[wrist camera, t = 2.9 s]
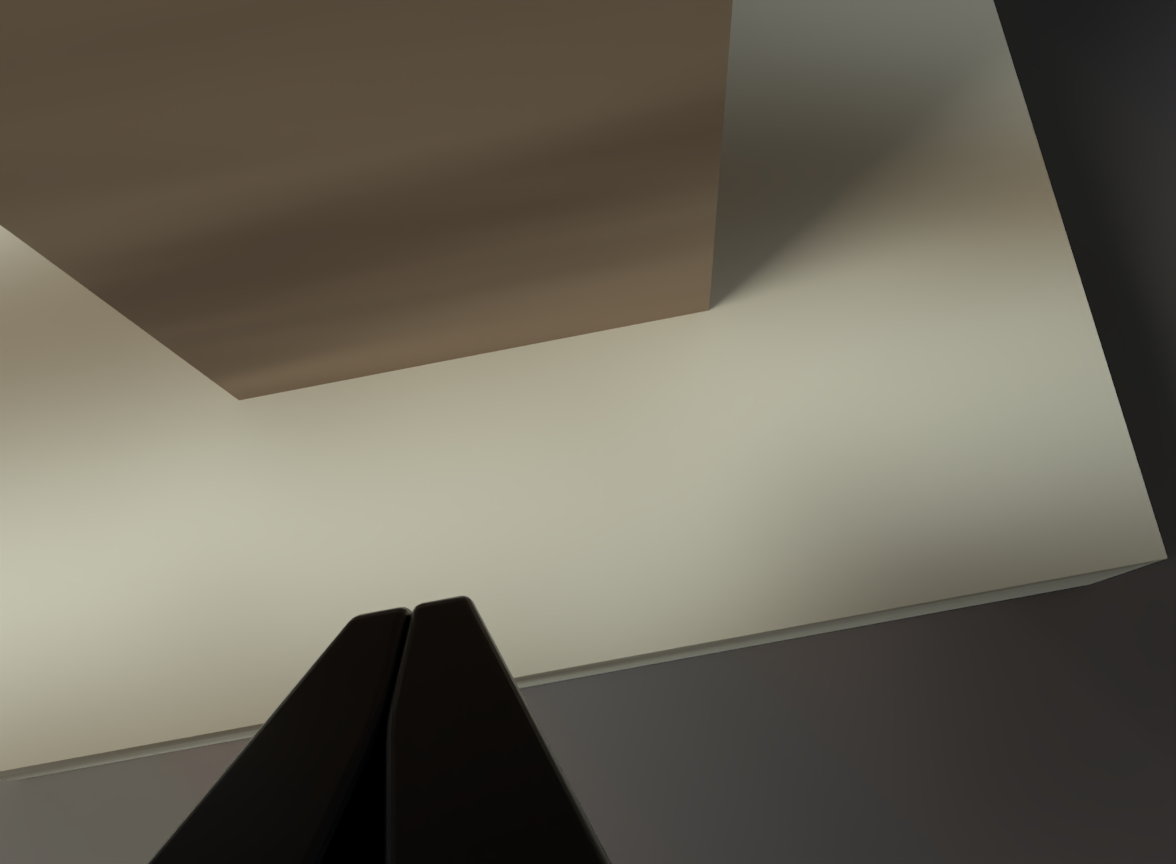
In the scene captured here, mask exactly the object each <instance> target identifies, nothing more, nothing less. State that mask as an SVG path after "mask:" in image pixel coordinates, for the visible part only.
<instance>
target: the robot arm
mask: <svg viewBox="0 0 1176 864" xmlns="http://www.w3.org/2000/svg"><path fill="white" fill-rule="evenodd" d="M148 864H611V862H610V860H609V858H608V856H607V854H606V852H605V851H604V849H603V847H602V845H601V843H600V841H599V839H598V837H597V835H596V834H595V832H594V830H593V828H592V826H591V824H590V822H589V820H588V818H587V816H586V815H585V813H584V811H583V809H582V807H581V805H580V803H579V801H578V799H577V798H576V796H575V794H574V792H573V790H572V788H571V786H570V784H569V782H568V780H567V779H566V777H565V775H564V773H563V771H562V769H561V767H560V765H559V763H558V761H557V760H556V758H555V756H554V754H553V752H552V750H551V748H550V746H549V744H548V743H547V741H546V739H545V737H544V735H543V733H542V731H541V729H540V727H539V725H538V724H537V722H536V720H535V718H534V716H533V714H532V712H531V710H530V708H529V707H528V705H527V703H526V701H525V699H524V697H523V695H522V693H521V691H520V689H519V688H518V686H517V684H516V682H515V680H514V678H513V676H512V674H511V672H510V670H509V669H508V667H507V665H506V663H505V661H504V659H503V657H502V655H501V653H500V652H499V650H498V648H497V646H496V644H495V642H494V640H493V638H492V636H491V634H490V633H489V631H488V629H487V627H486V625H485V623H484V621H483V619H482V617H481V616H480V614H479V612H478V610H477V608H476V606H475V604H474V602H473V601H472V599H470V598H469V597H467V596H457V597H451V598H446V599H441V600H435V601H430V602H425V603H421V604H419V605H417V606H416V607H415V608H414V609H413V611H411V610H410V609H408V608H406V607H397V608H392V609H387V610H381V611H376V612H370V613H365V614H360V615H357V616H355V617H354V618H352V619H351V620H350V621H349V622H348V623H347V624H346V625H345V626H344V628H343V629H342V630H341V631H340V632H339V634H338V635H337V636H336V637H335V639H334V640H333V641H332V642H331V643H330V645H329V646H328V647H327V648H326V649H325V651H324V652H323V653H322V654H321V655H320V657H319V658H318V659H317V660H316V661H315V663H314V664H313V665H312V666H311V667H310V669H309V670H308V671H307V672H306V673H305V675H304V676H303V677H302V678H301V679H300V681H299V682H298V683H297V684H296V685H295V687H294V688H293V689H292V690H291V691H290V693H289V694H288V695H287V696H286V698H285V699H284V700H283V701H282V702H281V704H280V705H279V706H278V707H277V708H276V710H275V711H274V712H273V713H272V714H271V716H270V717H269V718H268V719H267V720H266V722H265V723H264V724H263V725H262V726H261V728H260V729H259V730H258V731H257V732H256V734H255V735H254V736H253V737H252V738H251V740H250V741H249V742H248V743H247V744H246V746H245V747H244V748H243V749H242V750H241V752H240V753H239V754H238V755H237V756H236V758H235V759H234V760H233V761H232V763H231V764H230V765H229V766H228V767H227V769H226V770H225V771H224V772H223V773H222V775H221V776H220V777H219V778H218V779H217V781H216V782H215V783H214V784H213V785H212V787H211V788H210V789H209V790H208V791H207V793H206V794H205V795H204V796H203V797H202V799H201V800H200V801H199V802H198V803H197V805H196V806H195V807H194V808H193V809H192V811H191V812H190V813H189V814H188V815H187V817H186V818H185V819H184V820H183V822H182V823H181V824H180V825H179V826H178V828H177V829H176V830H175V831H174V832H173V834H172V835H171V836H170V837H169V838H168V840H167V841H166V842H165V843H164V844H163V846H162V847H161V848H160V849H159V850H158V852H157V853H156V854H155V855H154V856H153V858H152V859H151V860H150V861H149V862H148Z"/></svg>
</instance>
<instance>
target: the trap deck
mask: <svg viewBox="0 0 1176 864" xmlns="http://www.w3.org/2000/svg"><path fill="white" fill-rule="evenodd" d="M1164 559H1167V554H1166V551H1165V548H1164V545H1163V542H1162V538H1161V535H1160V532H1159V529H1158V526H1157V522H1156V519H1155V516H1154V513H1153V510H1152V506H1151V503H1150V500H1149V497H1148V494H1147V490H1146V487H1145V484H1144V481H1143V477H1142V474H1141V471H1140V468H1139V465H1138V461H1137V458H1136V455H1135V452H1134V449H1133V445H1132V442H1131V439H1130V436H1129V433H1128V429H1127V426H1126V423H1125V420H1124V417H1123V413H1122V410H1121V407H1120V404H1119V401H1118V397H1117V394H1116V391H1115V388H1114V385H1113V381H1112V378H1111V375H1110V372H1109V369H1108V365H1107V362H1106V359H1105V356H1104V353H1103V349H1102V346H1101V343H1100V340H1099V337H1098V333H1097V330H1096V327H1095V324H1094V321H1093V317H1092V314H1091V311H1090V308H1089V305H1088V301H1087V298H1086V295H1085V292H1084V289H1083V285H1082V282H1081V279H1080V276H1079V273H1078V269H1077V266H1076V263H1075V260H1074V257H1073V253H1072V250H1071V247H1070V244H1069V241H1068V237H1067V234H1066V231H1065V228H1064V225H1063V221H1062V218H1061V215H1060V212H1059V209H1058V205H1057V202H1056V199H1055V196H1054V193H1053V189H1052V186H1051V183H1050V180H1049V177H1048V173H1047V170H1046V167H1045V164H1044V161H1043V157H1042V154H1041V151H1040V148H1039V145H1038V141H1037V138H1036V135H1035V132H1034V129H1033V125H1032V122H1031V119H1030V116H1029V113H1028V109H1027V106H1026V103H1025V100H1024V97H1023V93H1022V90H1021V87H1020V84H1019V81H1018V77H1017V74H1016V71H1015V68H1014V65H1013V61H1012V58H1011V55H1010V52H1009V49H1008V45H1007V42H1006V39H1005V36H1004V33H1003V29H1002V26H1001V23H1000V20H999V17H998V13H997V10H996V7H995V4H994V1H993V0H733V5H732V18H731V31H730V44H729V56H728V69H727V82H726V95H725V108H724V121H723V134H722V147H721V160H720V173H719V186H718V199H717V212H716V225H715V238H714V251H713V264H712V277H711V290H710V303H709V311H703V312H698V313H693V314H688V315H682V316H677V317H672V318H667V319H662V320H656V321H651V322H646V323H641V324H635V325H630V326H625V327H620V328H615V329H609V330H604V331H599V332H594V333H589V334H583V335H578V336H573V337H568V338H562V339H557V340H552V341H547V342H542V343H536V344H531V345H526V346H521V347H515V348H510V349H505V350H500V351H495V352H489V353H484V354H479V355H474V356H468V357H463V358H458V359H453V360H448V361H442V362H437V363H432V364H427V365H421V366H416V367H411V368H406V369H401V370H395V371H390V372H385V373H380V374H374V375H369V376H364V377H359V378H354V379H348V380H343V381H338V382H333V383H327V384H322V385H317V386H312V387H307V388H301V389H296V390H291V391H286V392H280V393H275V394H270V395H265V396H260V397H254V398H249V399H244V400H238V399H236V398H235V397H234V396H232V395H231V394H229V393H228V392H227V391H225V390H224V389H223V388H221V387H220V386H219V385H217V384H216V383H214V382H213V381H212V380H210V379H209V378H208V377H206V376H205V375H204V374H202V373H201V372H200V371H198V370H197V369H195V368H194V367H193V366H191V365H190V364H189V363H187V362H186V361H185V360H183V359H182V358H181V357H179V356H178V355H176V354H175V353H174V352H172V351H171V350H170V349H168V348H167V347H166V346H164V345H163V344H161V343H160V342H159V341H157V340H156V339H155V338H153V337H152V336H151V335H149V334H148V333H147V332H145V331H144V330H142V329H141V328H140V327H138V326H137V325H136V324H134V323H133V322H132V321H130V320H129V319H127V318H126V317H125V316H123V315H122V314H121V313H119V312H118V311H117V310H115V309H114V308H113V307H111V306H110V305H108V304H107V303H106V302H104V301H103V300H102V299H100V298H99V297H98V296H96V295H95V294H93V293H92V292H91V291H89V290H88V289H87V288H85V287H84V286H83V285H81V284H80V283H79V282H77V281H76V280H74V279H73V278H72V277H70V276H69V275H68V274H66V273H65V272H64V271H62V270H61V269H60V268H58V267H57V266H55V265H54V264H53V263H51V262H50V261H49V260H47V259H46V258H45V257H43V256H42V255H40V254H39V253H38V252H36V251H35V250H34V249H32V248H31V247H30V246H28V245H27V244H26V243H24V242H23V241H21V240H20V239H19V238H17V237H16V236H15V235H13V234H12V233H11V232H9V231H8V230H6V229H5V228H4V227H2V226H1V225H0V781H10V780H19V779H25V778H30V777H36V776H41V775H47V774H52V773H58V772H63V771H69V770H74V769H80V768H85V767H91V766H96V765H102V764H107V763H113V762H118V761H124V760H129V759H135V758H140V757H146V756H151V755H156V754H162V753H167V752H173V751H178V750H184V749H189V748H195V747H200V746H206V745H211V744H217V743H222V742H228V741H233V740H239V739H244V738H250V737H253V736H254V735H255V734H256V732H257V731H258V730H259V729H260V728H261V726H262V725H263V724H264V723H265V722H266V720H267V719H268V718H269V717H270V716H271V714H272V713H273V712H274V711H275V710H276V708H277V707H278V706H279V705H280V704H281V702H282V701H283V700H284V699H285V698H286V696H287V695H288V694H289V693H290V691H291V690H292V689H293V688H294V687H295V685H296V684H297V683H298V682H299V681H300V679H301V678H302V677H303V676H304V675H305V673H306V672H307V671H308V670H309V669H310V667H311V666H312V665H313V664H314V663H315V661H316V660H317V659H318V658H319V657H320V655H321V654H322V653H323V652H324V651H325V649H326V648H327V647H328V646H329V645H330V643H331V642H332V641H333V640H334V639H335V637H336V636H337V635H338V634H339V632H340V631H341V630H342V629H343V628H344V626H345V625H346V624H347V623H348V622H349V621H350V620H351V619H352V618H354V617H355V616H357V615H360V614H365V613H370V612H376V611H381V610H387V609H392V608H397V607H406V608H408V609H410V610H411V611H413V609H414V608H415V607H416V606H417V605H419V604H421V603H425V602H430V601H435V600H441V599H446V598H451V597H457V596H467V597H469V598H470V599H472V601H473V602H474V604H475V606H476V608H477V610H478V612H479V614H480V616H481V617H482V619H483V621H484V623H485V625H486V627H487V629H488V631H489V633H490V634H491V636H492V638H493V640H494V642H495V644H496V646H497V648H498V650H499V652H500V653H501V655H502V657H503V659H504V661H505V663H506V665H507V667H508V669H509V670H510V672H511V674H512V676H513V678H514V680H515V682H516V684H517V686H518V688H524V687H530V686H535V685H541V684H546V683H552V682H557V681H563V680H568V679H574V678H579V677H585V676H590V675H596V674H601V673H607V672H612V671H618V670H623V669H629V668H634V667H639V666H645V665H650V664H656V663H661V662H667V661H672V660H678V659H683V658H689V657H694V656H700V655H705V654H711V653H716V652H722V651H727V650H733V649H738V648H744V647H749V646H755V645H760V644H766V643H771V642H777V641H782V640H788V639H793V638H799V637H804V636H810V635H815V634H821V633H826V632H832V631H837V630H843V629H848V628H854V627H859V626H865V625H870V624H875V623H881V622H886V621H892V620H897V619H903V618H908V617H914V616H919V615H925V614H930V613H936V612H941V611H947V610H952V609H958V608H963V607H969V606H974V605H980V604H985V603H991V602H996V601H1002V600H1007V599H1013V598H1018V597H1024V596H1029V595H1035V594H1040V593H1046V592H1051V591H1057V590H1062V589H1068V588H1073V587H1079V586H1084V585H1090V584H1093V583H1096V582H1099V581H1102V580H1105V579H1108V578H1110V577H1113V576H1116V575H1119V574H1122V573H1125V572H1128V571H1131V570H1134V569H1137V568H1140V567H1143V566H1146V565H1149V564H1152V563H1155V562H1158V561H1161V560H1164Z"/></svg>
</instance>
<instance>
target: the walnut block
mask: <svg viewBox="0 0 1176 864" xmlns="http://www.w3.org/2000/svg"><path fill="white" fill-rule="evenodd" d="M732 5H733V0H0V225H1V226H2V227H4V228H5V229H6V230H8V231H9V232H11V233H12V234H13V235H15V236H16V237H17V238H19V239H20V240H21V241H23V242H24V243H26V244H27V245H28V246H30V247H31V248H32V249H34V250H35V251H36V252H38V253H39V254H40V255H42V256H43V257H45V258H46V259H47V260H49V261H50V262H51V263H53V264H54V265H55V266H57V267H58V268H60V269H61V270H62V271H64V272H65V273H66V274H68V275H69V276H70V277H72V278H73V279H74V280H76V281H77V282H79V283H80V284H81V285H83V286H84V287H85V288H87V289H88V290H89V291H91V292H92V293H93V294H95V295H96V296H98V297H99V298H100V299H102V300H103V301H104V302H106V303H107V304H108V305H110V306H111V307H113V308H114V309H115V310H117V311H118V312H119V313H121V314H122V315H123V316H125V317H126V318H127V319H129V320H130V321H132V322H133V323H134V324H136V325H137V326H138V327H140V328H141V329H142V330H144V331H145V332H147V333H148V334H149V335H151V336H152V337H153V338H155V339H156V340H157V341H159V342H160V343H161V344H163V345H164V346H166V347H167V348H168V349H170V350H171V351H172V352H174V353H175V354H176V355H178V356H179V357H181V358H182V359H183V360H185V361H186V362H187V363H189V364H190V365H191V366H193V367H194V368H195V369H197V370H198V371H200V372H201V373H202V374H204V375H205V376H206V377H208V378H209V379H210V380H212V381H213V382H214V383H216V384H217V385H219V386H220V387H221V388H223V389H224V390H225V391H227V392H228V393H229V394H231V395H232V396H234V397H235V398H236V399H238V400H244V399H249V398H254V397H260V396H265V395H270V394H275V393H280V392H286V391H291V390H296V389H301V388H307V387H312V386H317V385H322V384H327V383H333V382H338V381H343V380H348V379H354V378H359V377H364V376H369V375H374V374H380V373H385V372H390V371H395V370H401V369H406V368H411V367H416V366H421V365H427V364H432V363H437V362H442V361H448V360H453V359H458V358H463V357H468V356H474V355H479V354H484V353H489V352H495V351H500V350H505V349H510V348H515V347H521V346H526V345H531V344H536V343H542V342H547V341H552V340H557V339H562V338H568V337H573V336H578V335H583V334H589V333H594V332H599V331H604V330H609V329H615V328H620V327H625V326H630V325H635V324H641V323H646V322H651V321H656V320H662V319H667V318H672V317H677V316H682V315H688V314H693V313H698V312H703V311H709V303H710V290H711V277H712V264H713V251H714V238H715V225H716V212H717V199H718V186H719V173H720V160H721V147H722V134H723V121H724V108H725V95H726V82H727V69H728V56H729V44H730V31H731V18H732Z"/></svg>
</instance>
